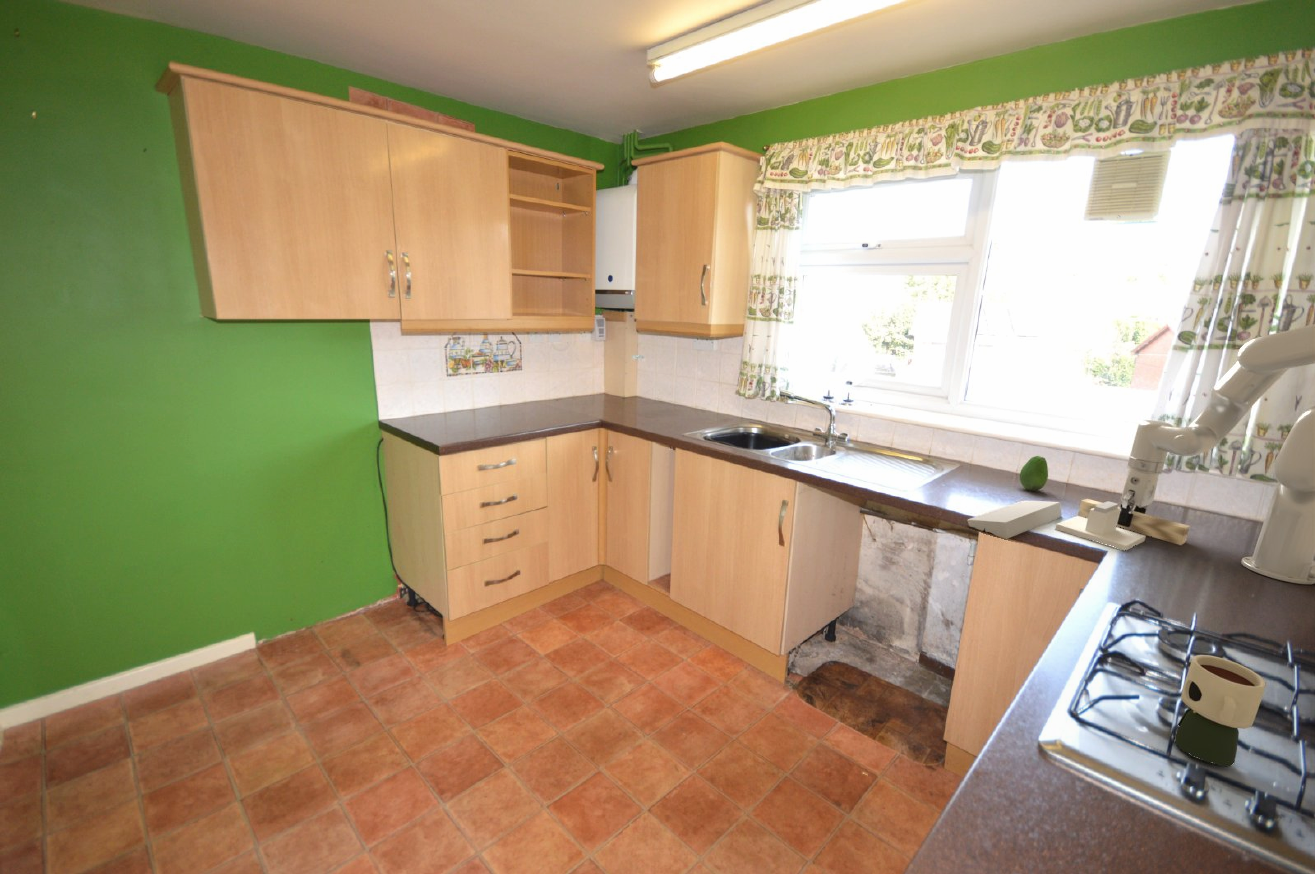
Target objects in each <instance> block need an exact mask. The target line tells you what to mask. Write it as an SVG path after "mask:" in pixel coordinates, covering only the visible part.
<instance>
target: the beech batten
mask: <svg viewBox="0 0 1315 874" xmlns="http://www.w3.org/2000/svg"><path fill="white" fill-rule="evenodd" d="M1102 503H1103V502H1102V501H1098V500H1097V501H1096V500H1093V499H1090V498H1084V499H1082V500H1080V505H1079V508H1078V512H1077V516H1080V517H1084V518H1085V517H1086V518H1087V519H1088V516H1089V512H1090V509H1092V508H1094V507H1095V506H1096V505H1099V504H1102ZM1120 507H1121V506H1118V508H1119V509H1120ZM1132 514H1133V518H1132V522H1131V525H1130V527H1125V526H1122V525H1118V524H1117V526H1118V528H1120V527H1121V529H1123V528H1124V530H1128V531H1130V530H1131V532H1133V531H1136V532H1135V533H1137V532H1138V534H1140V533H1141V535H1145V536H1149V537H1151V536H1152V538H1155V539H1159V540H1161V541H1166V542H1169V543H1172V544H1176V545H1179V546H1182V545H1184V544H1185V543H1186V542H1187V539H1188V535H1189V531H1190V528H1191V526H1190V525H1188V524H1183V523H1180V522H1176V521H1172V520H1169V519H1165V518H1163V517H1157V516H1154V515H1150V514H1146V513H1145V514H1143V513H1139V512H1135V511H1133V513H1132Z"/></svg>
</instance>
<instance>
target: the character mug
mask: <svg viewBox="0 0 1315 874" xmlns="http://www.w3.org/2000/svg"><path fill="white" fill-rule="evenodd" d="M1266 687H1267V681H1265V679H1264V678H1263V677H1262V676H1261V675H1259V674H1258V673H1256V672H1254V671H1253V670H1252V669H1250V668H1248V667H1246V666H1243V665H1242V664H1239V663H1237V662H1235V661H1232V660H1229V659H1226V658H1224V657H1219V656H1214V655H1208V654H1207V655H1206V654H1197V655H1194V656H1193V657H1192V659H1191V663H1190V665H1189V668H1188V672H1187V674H1186V677H1185V681H1184V684H1183V686H1182V690H1181V701H1182V702H1183V703H1184V704H1185V705H1186V706H1187V707H1188V708H1187V709H1186V710H1185V711H1184V713H1183V714H1182V717H1181V718H1180V720H1179V721H1178V723H1177V724H1178V725H1179V726H1180V727H1179V729H1178V731H1177V734H1175V735H1176V741H1175V743H1174V744H1175V746H1176V747H1178V748H1179V749H1180V750H1181V749H1182V750H1183V751H1182V750H1181V751H1182V752H1184V751H1185V752H1187V753H1190V754H1191V755H1192V756H1195V757H1198V758H1200V759H1203V760H1205V761H1204V762H1206V761H1207V763H1209V762H1213V763H1215V764H1214V765H1216V764H1219V765H1218V766H1220V765H1223V766H1222V767H1229V766H1230V767H1231V765H1232V764H1233V763H1234V764H1235V762H1236V756H1237V751H1238V742H1239V735H1240V732H1239V729H1248V728H1252V725H1253V724H1254V721H1255V719H1256V716H1257V713H1258V712H1259V711H1258V710H1259V707H1260V704H1261V702H1262V699H1263V696H1264V694H1265V691H1266ZM1185 752H1184V753H1185ZM1187 753H1186V754H1187ZM1200 759H1199V760H1200ZM1203 760H1202V761H1203ZM1213 763H1212V764H1213ZM1234 764H1233V765H1234ZM1233 765H1232V766H1233Z"/></svg>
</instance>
